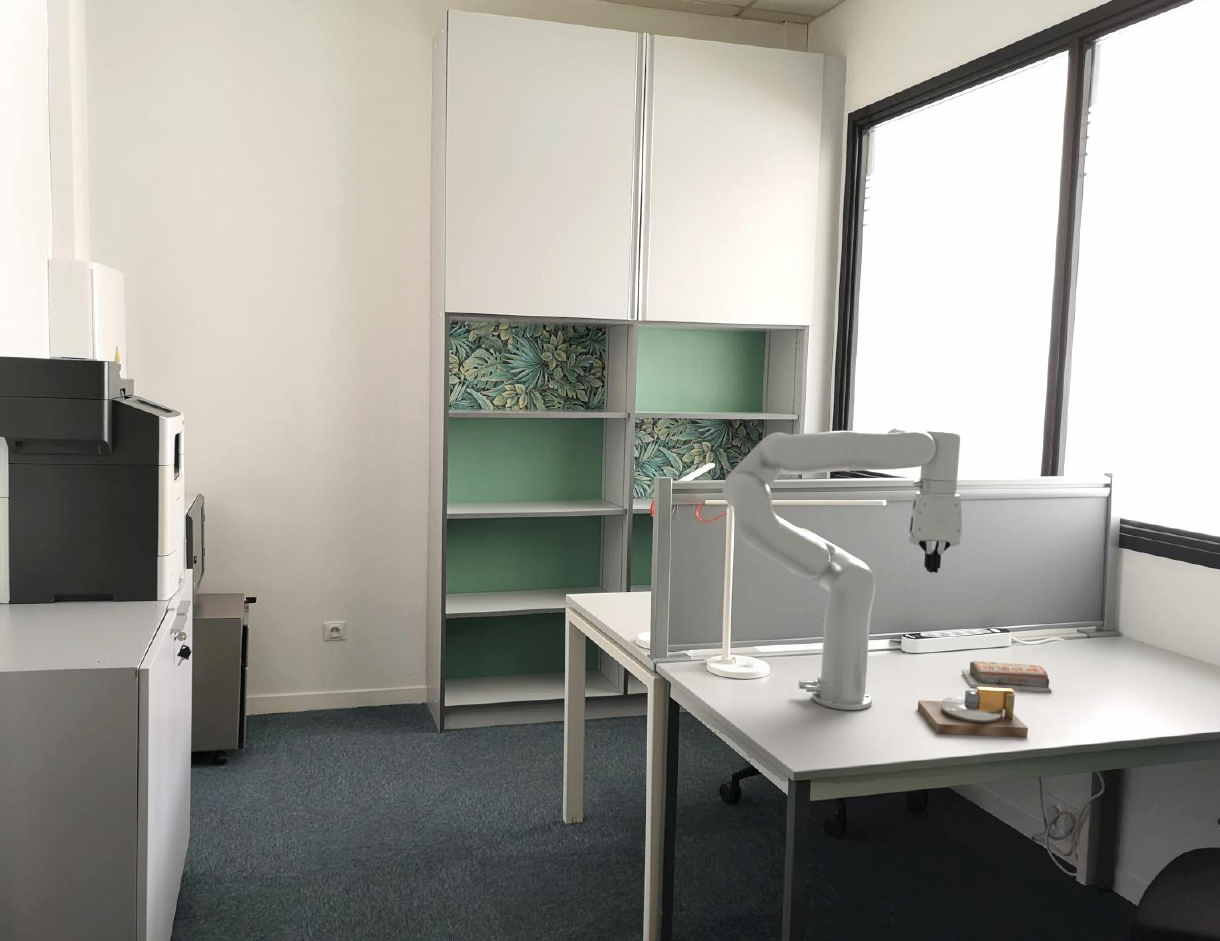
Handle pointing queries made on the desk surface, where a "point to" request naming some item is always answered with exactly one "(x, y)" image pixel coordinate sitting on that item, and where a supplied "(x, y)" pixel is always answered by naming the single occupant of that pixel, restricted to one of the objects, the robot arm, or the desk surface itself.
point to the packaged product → (1007, 676)
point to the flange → (977, 705)
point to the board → (961, 727)
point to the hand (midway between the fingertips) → (931, 571)
